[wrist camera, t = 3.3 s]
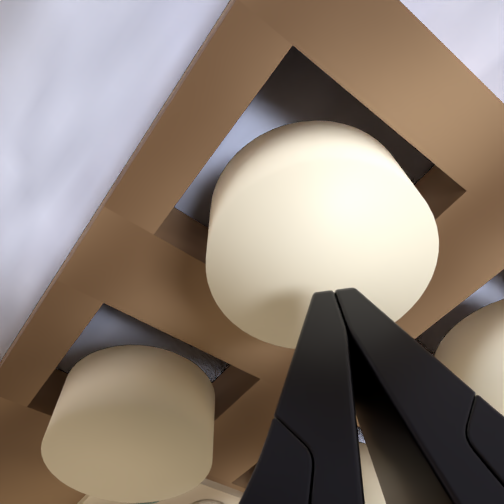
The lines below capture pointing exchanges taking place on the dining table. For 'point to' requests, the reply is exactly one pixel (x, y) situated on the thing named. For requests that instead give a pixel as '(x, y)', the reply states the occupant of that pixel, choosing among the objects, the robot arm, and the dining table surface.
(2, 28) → the dining table surface
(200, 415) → the button
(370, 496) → the button
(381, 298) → the button
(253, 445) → the board
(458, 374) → the button
